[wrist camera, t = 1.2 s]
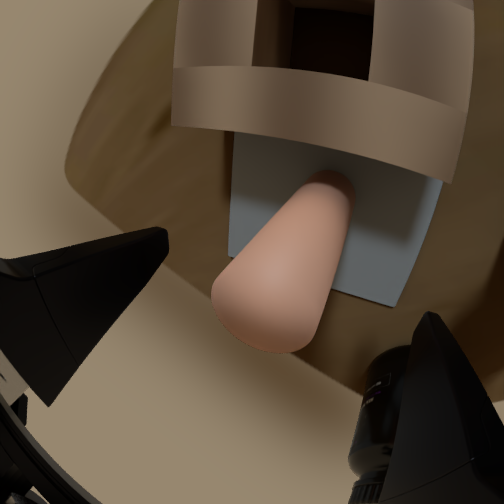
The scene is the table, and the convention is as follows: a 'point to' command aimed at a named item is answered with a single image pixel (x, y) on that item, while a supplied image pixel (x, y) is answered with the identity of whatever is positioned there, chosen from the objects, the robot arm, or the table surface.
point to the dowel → (287, 268)
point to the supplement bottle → (377, 424)
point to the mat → (363, 216)
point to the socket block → (331, 79)
